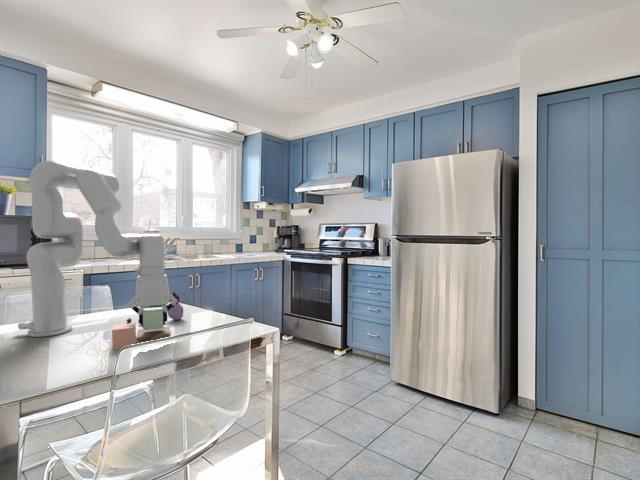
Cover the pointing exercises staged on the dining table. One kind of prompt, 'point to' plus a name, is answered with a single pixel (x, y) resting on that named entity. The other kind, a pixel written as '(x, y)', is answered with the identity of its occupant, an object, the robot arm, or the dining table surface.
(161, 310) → the sage cube
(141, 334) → the board
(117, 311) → the dining table surface
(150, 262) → the robot arm
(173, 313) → the toy
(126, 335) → the terracotta cube
